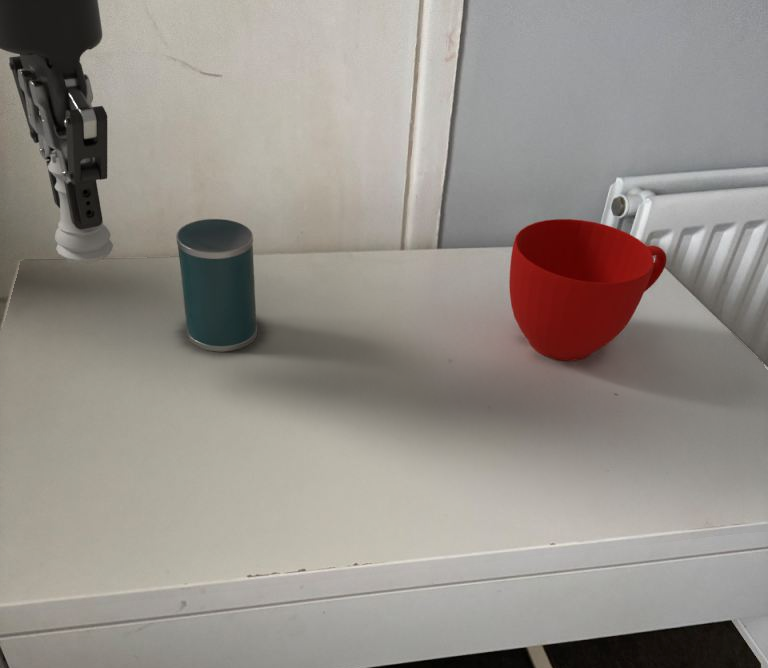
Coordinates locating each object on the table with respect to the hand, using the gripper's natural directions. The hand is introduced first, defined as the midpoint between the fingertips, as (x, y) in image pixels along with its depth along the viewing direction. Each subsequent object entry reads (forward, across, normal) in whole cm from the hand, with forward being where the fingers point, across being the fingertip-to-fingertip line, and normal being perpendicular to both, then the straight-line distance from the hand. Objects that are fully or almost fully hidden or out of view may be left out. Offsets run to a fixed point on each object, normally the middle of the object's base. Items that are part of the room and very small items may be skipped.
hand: (79, 215), depth 66 cm
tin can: (+14, 0, +12) cm, 18 cm away
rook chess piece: (+3, 0, 0) cm, 3 cm away
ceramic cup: (+14, +18, +42) cm, 48 cm away
